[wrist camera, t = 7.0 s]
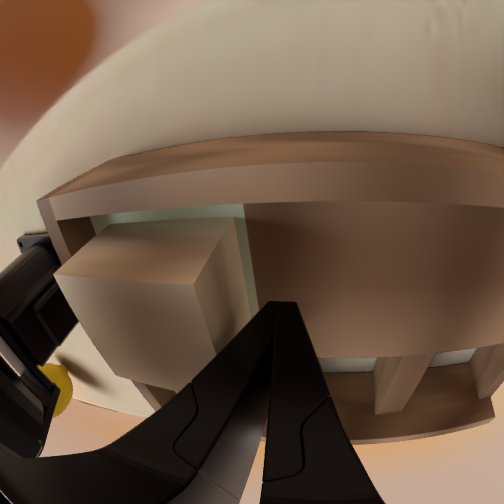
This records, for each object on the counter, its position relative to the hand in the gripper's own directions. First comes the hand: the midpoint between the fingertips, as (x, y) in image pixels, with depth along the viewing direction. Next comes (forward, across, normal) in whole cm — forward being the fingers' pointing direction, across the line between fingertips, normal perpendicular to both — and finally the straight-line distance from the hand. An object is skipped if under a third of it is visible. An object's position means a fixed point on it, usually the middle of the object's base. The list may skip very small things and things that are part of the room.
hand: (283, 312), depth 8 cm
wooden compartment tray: (+4, -2, +3) cm, 5 cm away
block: (+1, +4, 0) cm, 4 cm away
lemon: (+4, +26, +16) cm, 31 cm away
